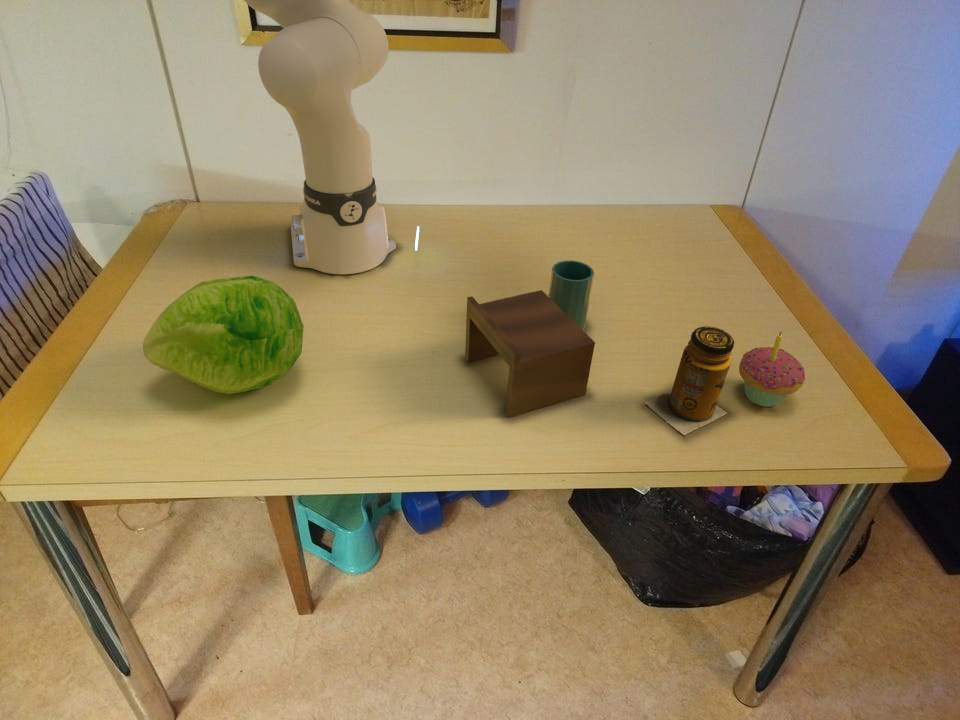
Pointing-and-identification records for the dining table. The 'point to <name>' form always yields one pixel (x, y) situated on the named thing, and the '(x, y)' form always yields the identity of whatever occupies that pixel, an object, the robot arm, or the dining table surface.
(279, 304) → the lettuce
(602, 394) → the dining table surface
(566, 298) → the cup
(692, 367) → the condiment
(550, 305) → the shelf
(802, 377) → the cupcake
